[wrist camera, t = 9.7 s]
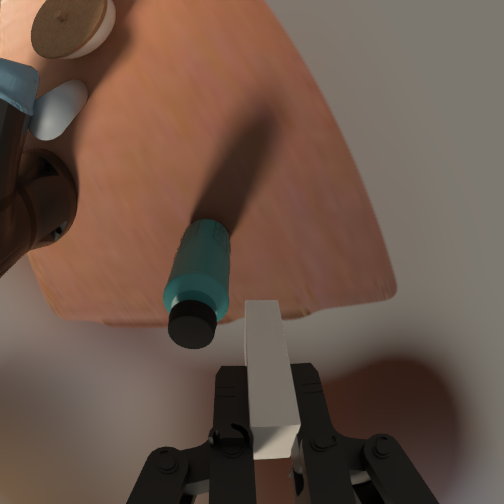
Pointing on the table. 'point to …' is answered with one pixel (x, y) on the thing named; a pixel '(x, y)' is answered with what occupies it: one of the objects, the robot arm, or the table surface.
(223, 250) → the beverage bottle
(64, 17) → the lidded jar
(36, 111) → the post
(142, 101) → the table surface
